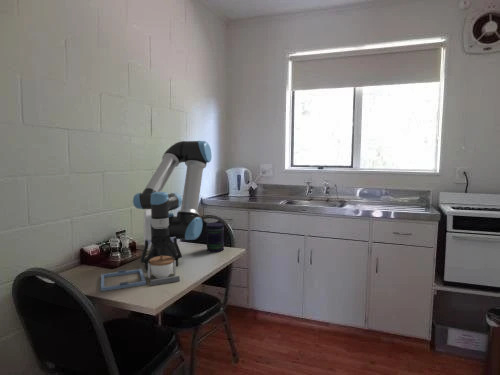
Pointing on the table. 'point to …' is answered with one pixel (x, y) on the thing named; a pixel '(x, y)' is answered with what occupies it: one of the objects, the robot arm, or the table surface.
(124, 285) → the frame
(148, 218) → the milk
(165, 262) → the lidded jar
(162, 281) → the charcoal rails
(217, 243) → the storage jar
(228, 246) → the table surface
